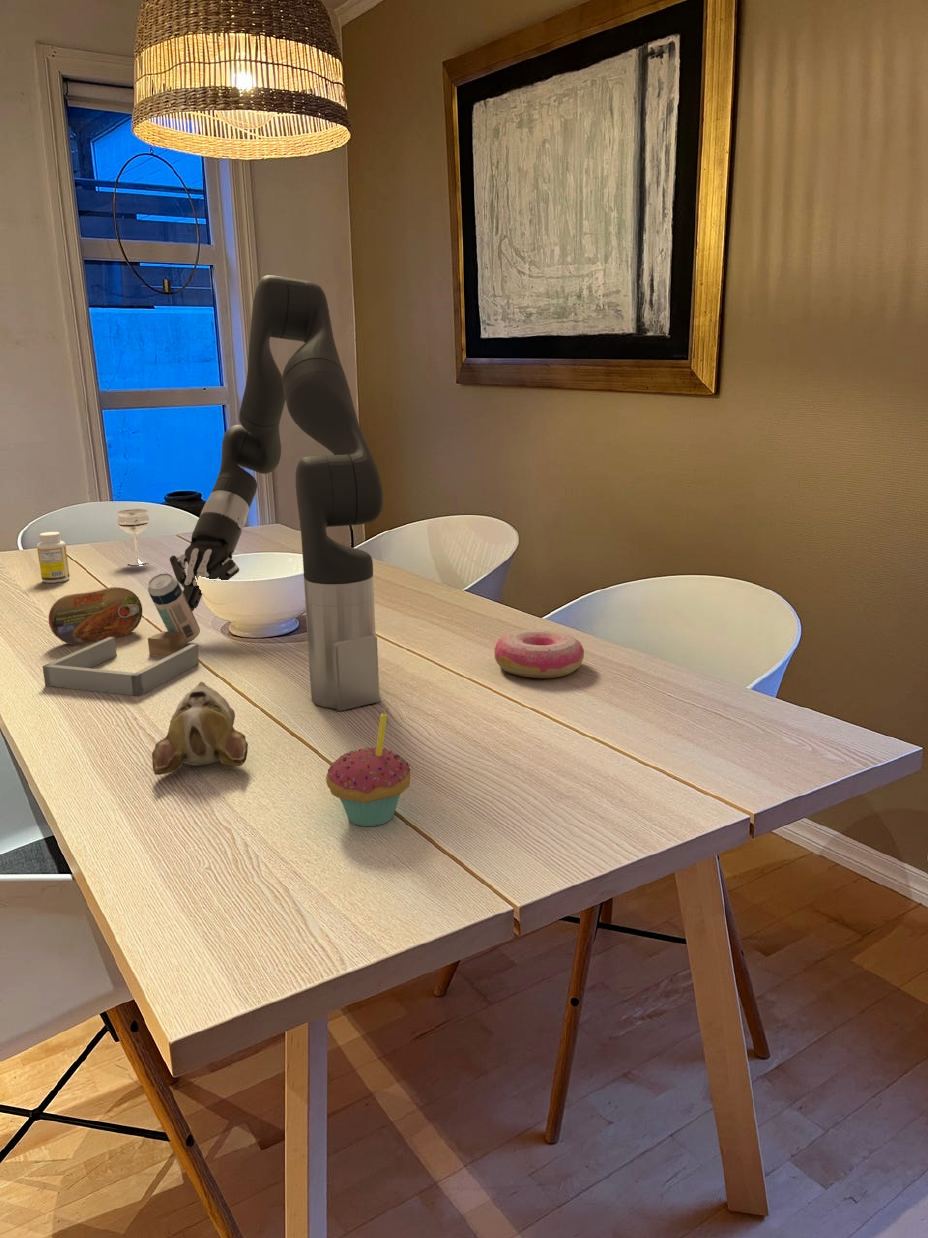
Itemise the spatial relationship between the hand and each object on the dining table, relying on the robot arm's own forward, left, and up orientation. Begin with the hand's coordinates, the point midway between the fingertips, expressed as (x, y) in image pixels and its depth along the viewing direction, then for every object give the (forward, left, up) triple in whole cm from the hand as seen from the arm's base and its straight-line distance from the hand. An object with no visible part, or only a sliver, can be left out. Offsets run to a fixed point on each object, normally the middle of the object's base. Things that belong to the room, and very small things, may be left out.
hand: (186, 608), depth 156 cm
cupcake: (-72, +3, -6) cm, 73 cm away
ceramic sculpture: (-48, +13, -6) cm, 50 cm away
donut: (-44, -39, -6) cm, 60 cm away
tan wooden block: (-4, +5, -6) cm, 9 cm away
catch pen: (-11, +13, -6) cm, 18 cm away
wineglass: (+68, -9, -6) cm, 69 cm away
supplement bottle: (+61, +10, -6) cm, 62 cm away
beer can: (0, 0, -5) cm, 5 cm away
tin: (+11, +12, -6) cm, 17 cm away
